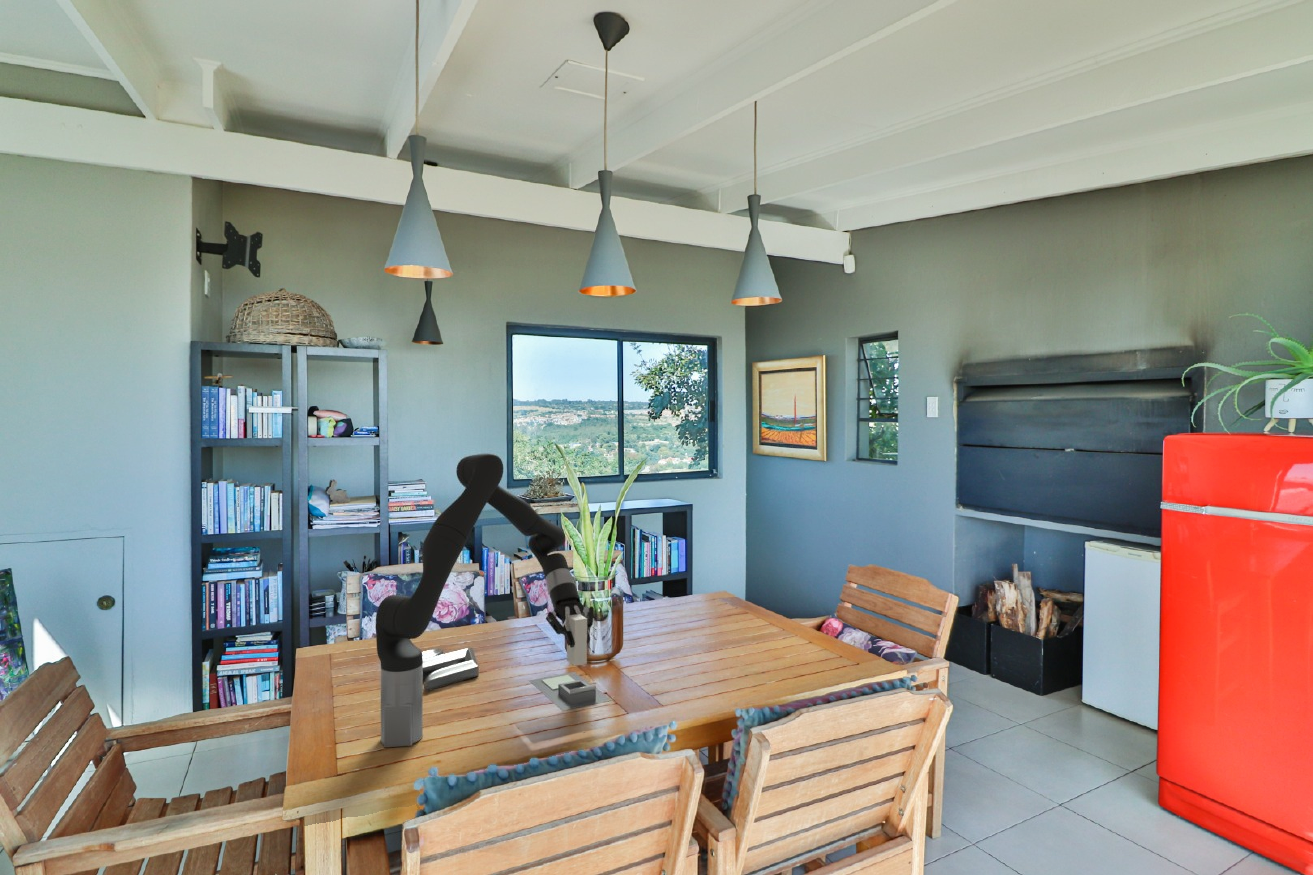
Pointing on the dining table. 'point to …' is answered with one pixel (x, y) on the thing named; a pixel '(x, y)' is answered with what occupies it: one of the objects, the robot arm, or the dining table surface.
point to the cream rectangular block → (578, 640)
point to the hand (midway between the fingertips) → (580, 644)
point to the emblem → (448, 667)
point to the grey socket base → (569, 691)
